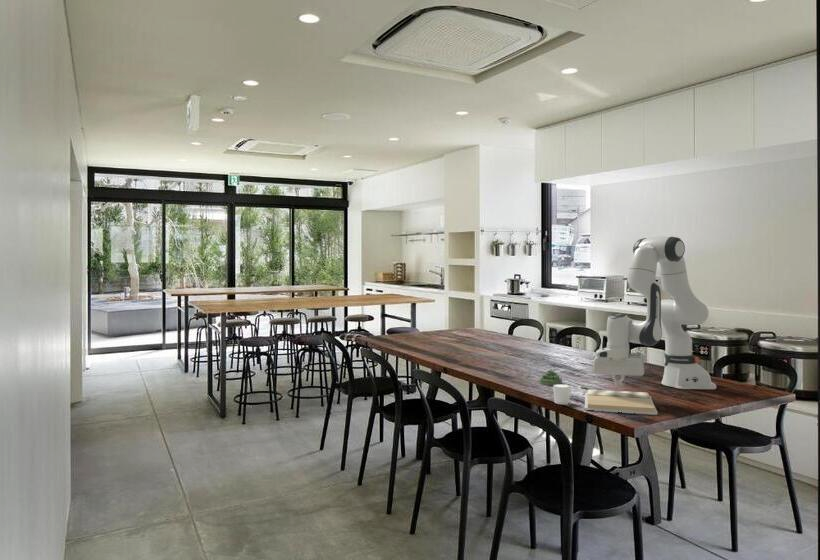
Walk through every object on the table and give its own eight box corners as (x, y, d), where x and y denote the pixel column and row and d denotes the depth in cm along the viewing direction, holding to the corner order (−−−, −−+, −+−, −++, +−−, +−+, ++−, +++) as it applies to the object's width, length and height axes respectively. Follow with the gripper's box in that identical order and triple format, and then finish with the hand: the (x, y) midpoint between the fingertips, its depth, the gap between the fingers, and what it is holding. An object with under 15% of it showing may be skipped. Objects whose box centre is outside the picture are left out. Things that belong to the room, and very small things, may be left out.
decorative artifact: (565, 383, 271) (546, 380, 278) (565, 368, 271) (546, 366, 277) (555, 387, 263) (536, 384, 270) (555, 372, 263) (536, 369, 270)
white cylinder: (563, 405, 230) (563, 388, 230) (549, 402, 236) (549, 385, 235) (574, 403, 234) (574, 385, 234) (560, 399, 240) (560, 383, 239)
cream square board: (650, 398, 240) (650, 392, 240) (657, 414, 215) (657, 408, 215) (585, 394, 248) (585, 389, 248) (584, 410, 223) (584, 403, 223)
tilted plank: (647, 396, 239) (647, 392, 239) (650, 401, 230) (650, 398, 230) (587, 392, 246) (587, 389, 246) (587, 398, 237) (587, 394, 237)
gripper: (644, 351, 240) (644, 384, 241) (592, 350, 246) (593, 382, 247) (645, 354, 234) (645, 387, 235) (592, 353, 240) (593, 385, 241)
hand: (618, 385), depth 241 cm, fingers closed
